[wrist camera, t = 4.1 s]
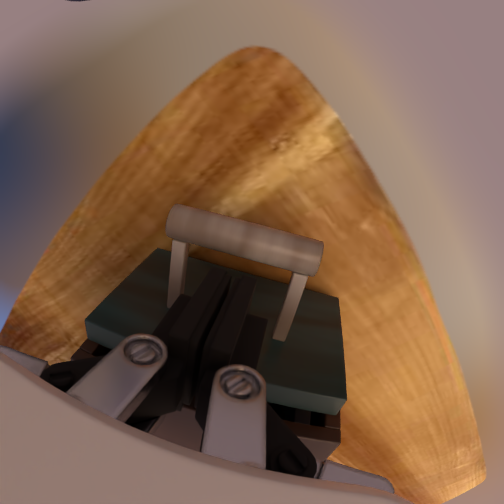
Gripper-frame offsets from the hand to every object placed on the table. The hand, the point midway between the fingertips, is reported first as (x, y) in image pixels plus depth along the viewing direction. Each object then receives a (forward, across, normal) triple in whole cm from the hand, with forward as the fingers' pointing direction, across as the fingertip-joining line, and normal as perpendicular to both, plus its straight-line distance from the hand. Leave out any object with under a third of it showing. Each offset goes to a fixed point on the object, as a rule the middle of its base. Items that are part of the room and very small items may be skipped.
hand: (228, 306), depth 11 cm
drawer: (+7, 0, +7) cm, 9 cm away
